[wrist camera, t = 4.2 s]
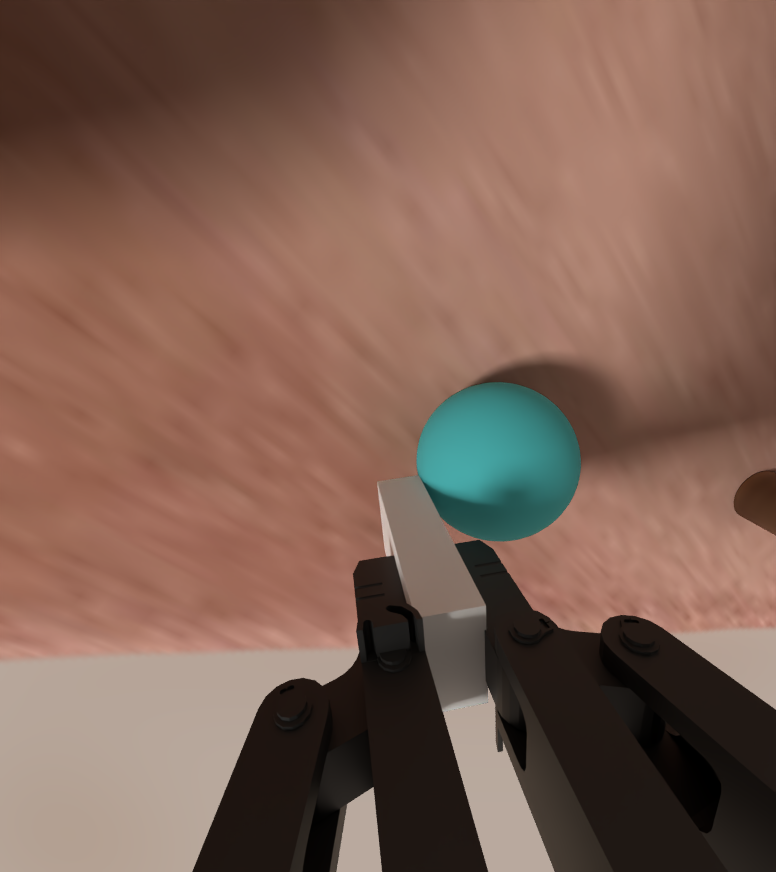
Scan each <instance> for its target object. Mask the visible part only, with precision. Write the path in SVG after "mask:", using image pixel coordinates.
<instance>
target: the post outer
mask: <svg viewBox="0 0 776 872" xmlns="http://www.w3.org/2000/svg"><path fill="white" fill-rule="evenodd" d="M734 508H735V511H736V512H737V514H739V515H740V516H742V517H744V518H745V519H747V520H749V521H751V522H753V523H754V524H756V525H758V526H760V527H762V528H763V529H765V530H767V531H769V532H770V533H772V534H774V535H776V473H774V472H771V471H763V472H759V473H757V474H755V475H753V476H751V477H750V478H748V479H747V480H746V481H745V482H744V483H743V484H742V485H741V486H740V488H739V489H738V491H737V493H736V495H735V499H734Z"/></svg>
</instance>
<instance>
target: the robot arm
mask: <svg viewBox="0 0 776 872" xmlns="http://www.w3.org/2000/svg"><path fill="white" fill-rule="evenodd" d="M377 485H378V494H379V503H380V511H381V520H382V529H383V538H384V547H385V552H386V557H380V558H374V559H368V560H362V561H359V563H358V565H357V567H356V569H355V571H354V573H353V578H354V588H355V597H356V607H357V617H358V623H357V630H356V632H357V639H358V646H359V654H358V657H357V660H356V661H355V662H354V664H353V666H352V667H351V668H350V669H349V670H348V671H347V672H346V673H345V674H343V675H342V676H340V677H338V678H337V679H335V680H333V681H331V682H329V683H327V684H325V685H323V686H322V685H320V684H319V683H318V682H316V681H315V680H310V679H305V678H300V679H294V680H289V681H287V682H285V683H283V684H281V685H279V686H277V687H276V688H275V689H274V690H273V691H271V692H270V693H269V694H268V695H267V696H266V697H265V699H264V700H263V702H262V704H261V705H260V707H259V709H258V711H257V713H256V716H255V718H254V721H253V724H252V726H251V728H250V731H249V733H248V736H247V738H246V741H245V743H244V746H243V748H242V750H241V753H240V756H239V758H238V760H237V763H236V766H235V768H234V770H233V773H232V775H231V778H230V780H229V783H228V785H227V787H226V790H225V792H224V795H223V798H222V800H221V803H220V805H219V807H218V810H217V812H216V815H215V817H214V820H213V822H212V825H211V827H210V829H209V832H208V835H207V837H206V839H205V842H204V844H203V847H202V849H201V852H200V854H199V857H198V859H197V862H196V864H195V867H194V869H193V872H336V870H337V863H338V857H339V850H340V844H341V838H342V832H343V826H344V820H345V814H346V808H347V804H348V803H349V802H351V801H352V800H354V799H355V798H357V797H358V796H360V795H361V794H363V793H364V792H366V791H368V790H369V789H371V788H372V787H374V795H375V805H376V815H377V825H378V835H379V845H380V855H381V865H382V872H488V870H487V866H486V863H485V859H484V855H483V852H482V848H481V845H480V841H479V838H478V834H477V831H476V828H475V824H474V820H473V817H472V813H471V810H470V807H469V803H468V799H467V796H466V792H465V789H464V785H463V781H462V778H461V774H460V771H459V767H458V764H457V760H456V757H455V753H454V750H453V746H452V743H451V739H450V736H449V732H448V729H447V725H446V722H445V718H444V715H443V712H445V711H450V710H455V709H460V708H465V707H470V706H475V705H479V704H484V703H488V688H489V690H490V693H491V695H492V697H493V700H494V702H495V705H496V707H495V710H496V711H495V712H496V745H497V750H498V752H501V751H503V742H504V744H505V747H506V749H507V752H508V755H509V757H510V760H511V762H512V765H513V767H514V770H515V772H516V775H517V777H518V780H519V782H520V785H521V787H522V790H523V793H524V795H525V797H526V800H527V803H528V805H529V808H530V810H531V813H532V815H533V818H534V820H535V823H536V825H537V828H538V830H539V833H540V835H541V838H542V841H543V843H544V846H545V848H546V851H547V853H548V856H549V858H550V861H551V863H552V866H553V868H554V871H555V872H776V710H775V709H774V708H773V707H771V706H770V705H768V704H767V703H766V702H764V701H763V700H761V699H760V698H759V697H757V696H756V695H755V694H753V693H752V692H750V691H749V690H748V689H746V688H745V687H743V686H742V685H741V684H739V683H738V682H736V681H735V680H734V679H732V678H731V677H730V676H728V675H727V674H725V673H724V672H723V671H721V670H720V669H718V668H717V667H716V666H714V665H713V664H711V663H710V662H709V661H707V660H706V659H705V658H703V657H702V656H700V655H699V654H698V653H696V652H695V651H693V650H692V649H691V648H689V647H688V646H686V645H685V644H684V643H682V642H681V641H680V640H678V639H677V638H675V637H674V636H673V635H671V634H670V633H668V632H667V631H666V630H664V629H663V628H661V627H660V626H658V625H656V624H654V623H652V622H651V621H649V620H646V619H642V618H639V617H636V616H627V615H620V616H615V617H611V618H609V619H608V620H607V621H605V622H604V623H603V626H602V629H601V633H589V632H576V631H569V630H564V629H561V628H558V626H557V625H556V624H555V623H554V622H553V621H552V620H551V619H550V618H549V617H547V616H545V615H544V614H542V613H540V612H538V611H534V610H533V609H532V608H531V606H530V605H529V603H528V602H527V600H526V599H525V597H524V596H523V594H522V593H521V591H520V590H519V588H518V587H517V585H516V583H515V582H514V580H513V579H512V577H511V576H510V574H509V573H507V570H506V568H505V567H504V565H503V564H502V563H501V561H500V559H499V558H498V556H497V555H496V553H495V551H494V550H493V549H492V548H491V547H489V546H488V545H486V544H485V543H483V542H482V541H480V540H476V541H470V542H464V543H458V544H454V542H453V541H452V539H451V537H450V535H449V533H448V531H447V529H446V527H445V525H444V523H443V521H442V519H441V517H440V515H439V513H438V511H437V510H436V508H435V506H434V504H433V502H432V500H431V498H430V496H429V494H428V492H427V490H426V488H425V486H424V484H423V482H422V480H421V479H420V477H419V475H418V476H411V477H404V478H397V479H390V480H383V481H377Z"/></svg>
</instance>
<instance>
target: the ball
mask: <svg viewBox="0 0 776 872" xmlns="http://www.w3.org/2000/svg"><path fill="white" fill-rule="evenodd" d="M580 470H581V457H580V448H579V444H578V441H577V438H576V435H575V432H574V430H573V428H572V426H571V424H570V423H569V421H568V419H567V418H566V416H565V415H564V414H563V413H562V412H561V410H560V409H559V408H558V407H557V406H556V405H555V404H554V403H552V402H551V401H550V400H549V399H547V398H546V397H545V396H543V395H541V394H540V393H538V392H536V391H534V390H532V389H530V388H527V387H524V386H521V385H517V384H512V383H504V382H491V383H483V384H479V385H474V386H471V387H468V388H466V389H463V390H461V391H459V392H457V393H456V394H454V395H452V396H451V397H449V398H448V399H447V400H445V401H444V402H443V403H442V404H441V405H440V406H439V407H438V408H437V409H436V410H435V411H434V413H433V414H432V415H431V417H430V418H429V419H428V421H427V423H426V425H425V427H424V429H423V431H422V434H421V437H420V440H419V444H418V450H417V471H418V475H419V477H420V479H421V480H422V482H423V484H424V486H425V488H426V490H427V492H428V494H429V496H430V498H431V500H432V502H433V504H434V506H435V508H436V510H437V511H438V513H439V515H440V517H441V518H442V519H443V520H444V521H446V522H447V523H448V524H449V525H451V526H452V527H454V528H455V529H457V530H458V531H460V532H462V533H464V534H467V535H469V536H472V537H474V538H478V539H483V540H488V541H511V540H518V539H522V538H525V537H528V536H531V535H533V534H536V533H538V532H539V531H541V530H543V529H544V528H546V527H548V526H549V525H550V524H552V523H553V522H554V521H555V520H556V519H557V518H558V517H559V516H560V515H561V514H562V513H563V511H564V510H565V509H566V508H567V506H568V505H569V503H570V501H571V500H572V498H573V496H574V493H575V491H576V488H577V485H578V481H579V477H580Z"/></svg>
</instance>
